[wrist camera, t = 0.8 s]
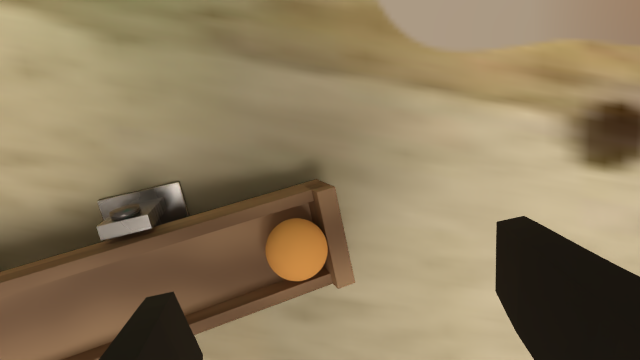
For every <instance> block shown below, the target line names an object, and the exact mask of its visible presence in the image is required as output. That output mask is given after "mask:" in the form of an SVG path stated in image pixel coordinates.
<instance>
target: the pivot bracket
mask: <svg viewBox="0 0 640 360" xmlns="http://www.w3.org/2000/svg"><path fill="white" fill-rule="evenodd" d="M97 202H98V205H99V208H100V211H101V214H102V217H103V220H104V221H102V222H101V223H100V224H99V225H98V226H97V227H96V228H97V231H98V233H99V236H100V239H101V240H105V239H110V240H111V239H114V238H118V237H121V236H124V235H128V234H131V233H135V232H139V231H143V230H147V229H151V228H152V227H155V226H159V225H162V224H165V223H169V222H172V221H176V220H179V219H182V218H186V217H189V213H188V210H187V206H186V203H185V200H184V196H183V193H182V189H181V186H180V183H179V182H175V183H170V184H166V185H162V186H157V187H153V188H149V189H144V190H140V191H136V192H131V193H127V194H123V195H118V196H114V197H110V198H106V199H101V200H98V201H97Z"/></svg>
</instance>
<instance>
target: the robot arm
mask: <svg viewBox="0 0 640 360" xmlns="http://www.w3.org/2000/svg"><path fill="white" fill-rule="evenodd" d="M496 293H497V295H498V297H499V299H500V301H501V303H502V305H503V307H504V309H505V311H506V313H507V315H508V317H509V319H510V321H511V323H512V325H513V327H514V329H515V331H516V332H517V334H518V336H519V337H520V339H521V340H522V342H523V343H524V345H525V346H526V348H527V349H528V351H529V352H530V354H531V355H532V357H533V358H534V360H640V277H639V276H637V275H635V274H633V273H631V272H629V271H627V270H625V269H623V268H621V267H619V266H617V265H615V264H613V263H611V262H609V261H608V260H606V259H604V258H602V257H600V256H598V255H596V254H594V253H592V252H591V251H589V250H587V249H585V248H583V247H581V246H579V245H578V244H576V243H574V242H572V241H570V240H568V239H566V238H565V237H563V236H561V235H559V234H557V233H555V232H554V231H552V230H550V229H548V228H546V227H544V226H543V225H541V224H539V223H537V222H535V221H533V220H531V219H529V218H527V217H525V216H522V217H517V218H512V219H508V220H503V221H498V222H497V235H496ZM99 360H203V354H202V352H201V350H200V347H199V345H198V343H197V341H196V339H195V337H194V335H193V332H192V330H191V328H190V326H189V324H188V322H187V319H186V317H185V315H184V313H183V311H182V309H181V306H180V304H179V302H178V300H177V298H176V296H175V294H174V291H173V292H169V293H164V294H159V295H155V296H150V297H146V298H145V299H144V301H143V302H142V303H141V304H140V306H139V307H138V308H137V310H136V311H135V312H134V313H133V315H132V316H131V317H130V319H129V320H128V321H127V323H126V324H125V325H124V327H123V328H122V329H121V331H120V332H119V333H118V335H117V336H116V337H115V339H114V340H113V341H112V343H111V344H110V345H109V347H108V348H107V349H106V351H105V352H104V353H103V355H102V356H101V357H100V358H99Z"/></svg>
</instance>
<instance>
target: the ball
mask: <svg viewBox="0 0 640 360" xmlns="http://www.w3.org/2000/svg"><path fill="white" fill-rule="evenodd" d="M265 252H266V258H267V261H268V264H269V266H270V267H271V269H272V270H273V271H274V272H275V273H276V274H277V275H278V276H280V277H282V278H284V279H286V280H290V281H303V280H306V279H309V278H311V277H313V276H314V275H316V274H317V273H318V272H319V271H320V270H321V268H322V267H323V265H324V264H325V261H326V258H327V253H328V246H327V241H326V238H325V236H324V234H323V232H322V231H321V229H320V228H319V227H318V226H317V225H315V224H314V223H312V222H311V221H308V220H305V219H301V218H293V219H288V220H285V221H283V222H281V223H280V224H278V225H277V226H276V227H275V228H274V229H273V230H272V231H271V233H270V234H269V236H268V239H267V242H266V248H265Z"/></svg>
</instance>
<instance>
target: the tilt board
mask: <svg viewBox="0 0 640 360" xmlns="http://www.w3.org/2000/svg"><path fill="white" fill-rule="evenodd" d="M293 218H301V219H305V220H308V221H311V222H312V223H314V224H315V225H317V226H318V227H319V228H320V229H321V231H322V232H323V234H324V236H325V238H326V241H327V246H328V253H327V258H326V261H325V264H324V265H323V267H322V268H321V270H320V271H319V272H318V273H317V274H316V275H314V276H313V277H311V278H309V279H306V280H303V281H290V280H286V279H284V278H282V277H280V276H278V275H277V274H276V273H275V272H274V271H273V270H272V269H271V267H270V266H269V264H268V261H267V258H266V252H265V248H266V242H267V239H268V236H269V234H270V233H271V231H272V230H273V229H274V228H275V227H276V226H277V225H278V224H280V223H281V222H283V221H285V220H288V219H293ZM332 283H333V284H334V285H335V286H336V287H337V288H338V289H339V288H342V287H344V286H347V285H350V284H352V283H355V280H354V275H353V271H352V266H351V261H350V256H349V252H348V247H347V242H346V237H345V233H344V228H343V223H342V218H341V214H340V209H339V204H338V200H337V195H336V190H335V187H334V186H331V185H329V184H327V183H324V182H322V181H319V180H317V179H316V180H312V181H309V182H305V183H302V184H299V185H295V186H292V187H288V188H285V189H281V190H278V191H275V192H271V193H268V194H264V195H261V196H258V197H254V198H251V199H247V200H244V201H240V202H237V203H234V204H230V205H227V206H223V207H220V208H217V209H213V210H210V211H206V212H203V213H200V214H196V215H193V216H189V217H186V218H182V219H179V220H176V221H172V222H169V223H165V224H162V225H159V226H155V227H152V228H151V229H147V230H143V231H139V232H135V233H131V234H128V235H124V236H121V237H118V238H114V239H111V240H107V241H104V242H101V243H97V244H94V245H90V246H87V247H83V248H80V249H77V250H73V251H70V252H66V253H63V254H60V255H56V256H53V257H49V258H46V259H42V260H39V261H36V262H32V263H29V264H25V265H22V266H19V267H15V268H12V269H8V270H5V271H2V272H0V360H99V358H100V357H101V356H102V355H103V353H104V352H105V351H106V349H107V348H108V347H109V345H110V344H111V343H112V341H113V340H114V339H115V337H116V336H117V335H118V333H119V332H120V331H121V329H122V328H123V327H124V325H125V324H126V323H127V321H128V320H129V319H130V317H131V316H132V315H133V313H134V312H135V311H136V310H137V308H138V307H139V306H140V304H141V303H142V302H143V301H144V299H145V298H146V297H150V296H155V295H159V294H164V293H169V292H173V291H174V294H175V296H176V298H177V300H178V302H179V304H180V306H181V309H182V311H183V313H184V315H185V317H186V319H187V322H188V324H189V326H190V328H191V330H192V332H193V335H195V334H198V333H201V332H203V331H206V330H209V329H212V328H214V327H217V326H220V325H222V324H225V323H228V322H230V321H233V320H236V319H238V318H241V317H244V316H246V315H249V314H252V313H255V312H257V311H260V310H263V309H265V308H268V307H271V306H273V305H276V304H279V303H281V302H284V301H287V300H289V299H292V298H295V297H297V296H300V295H303V294H306V293H308V292H311V291H314V290H316V289H319V288H322V287H324V286H327V285H330V284H332Z"/></svg>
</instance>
